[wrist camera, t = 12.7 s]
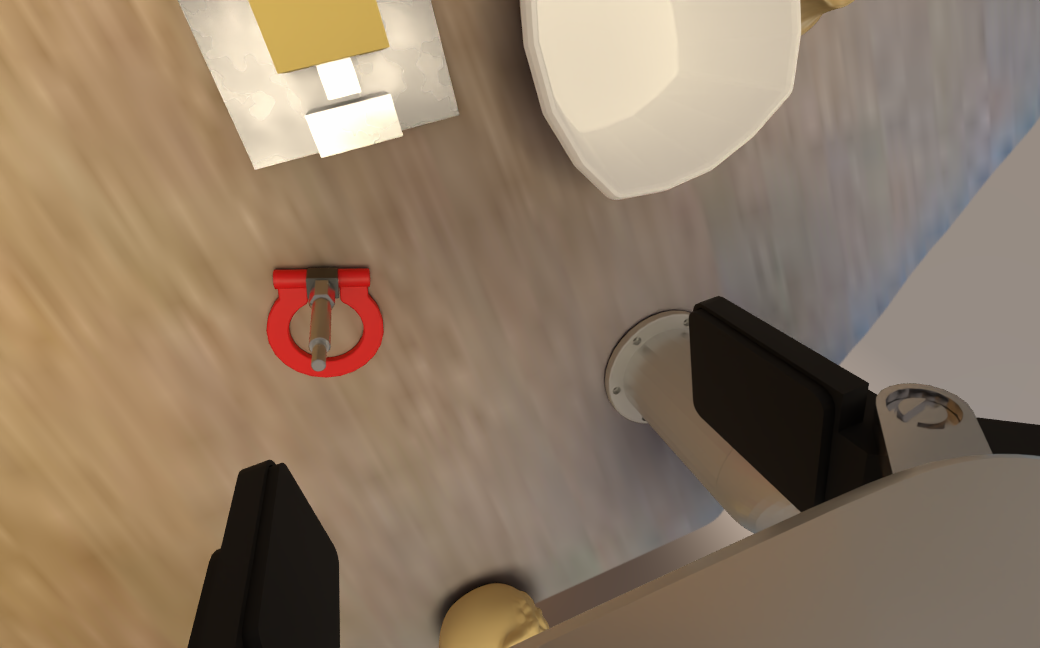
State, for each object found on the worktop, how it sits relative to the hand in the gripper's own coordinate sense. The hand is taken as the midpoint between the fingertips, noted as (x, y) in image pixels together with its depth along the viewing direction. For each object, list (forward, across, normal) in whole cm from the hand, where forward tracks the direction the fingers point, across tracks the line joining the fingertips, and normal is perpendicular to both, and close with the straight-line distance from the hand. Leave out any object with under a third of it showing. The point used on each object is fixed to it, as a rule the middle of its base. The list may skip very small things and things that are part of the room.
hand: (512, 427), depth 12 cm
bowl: (+31, -18, -5) cm, 36 cm away
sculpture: (+31, +5, +49) cm, 58 cm away
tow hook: (+31, +8, +9) cm, 33 cm away
